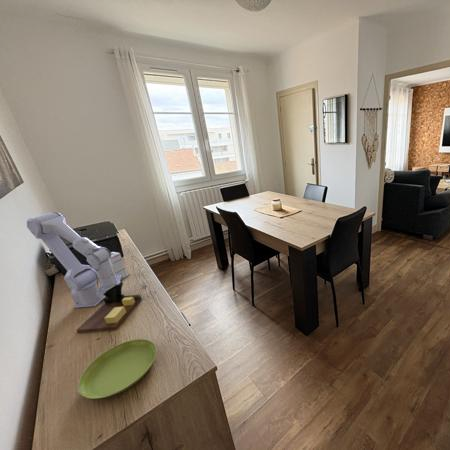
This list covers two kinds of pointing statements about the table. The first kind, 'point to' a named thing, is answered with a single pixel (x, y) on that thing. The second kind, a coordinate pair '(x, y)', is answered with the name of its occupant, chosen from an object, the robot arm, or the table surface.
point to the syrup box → (118, 264)
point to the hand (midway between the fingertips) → (117, 299)
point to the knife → (120, 297)
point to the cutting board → (98, 318)
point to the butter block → (115, 315)
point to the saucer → (117, 369)
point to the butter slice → (128, 301)
